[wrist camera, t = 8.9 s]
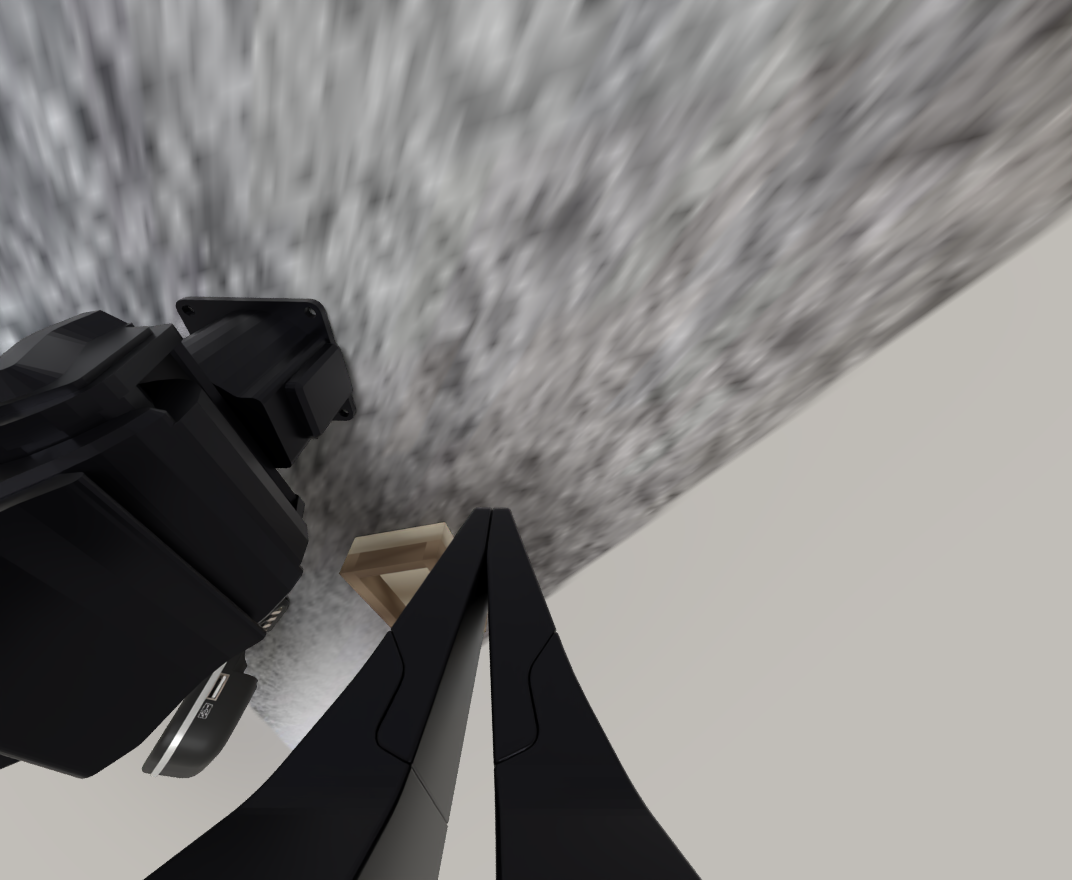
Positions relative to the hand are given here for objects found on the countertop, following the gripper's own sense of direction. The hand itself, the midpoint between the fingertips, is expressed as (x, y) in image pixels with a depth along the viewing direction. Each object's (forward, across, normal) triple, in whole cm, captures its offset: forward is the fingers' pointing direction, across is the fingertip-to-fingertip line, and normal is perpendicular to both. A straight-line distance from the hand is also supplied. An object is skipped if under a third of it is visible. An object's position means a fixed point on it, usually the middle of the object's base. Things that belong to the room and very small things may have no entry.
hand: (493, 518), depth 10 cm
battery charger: (+12, +22, +26) cm, 36 cm away
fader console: (+12, +7, +20) cm, 24 cm away
